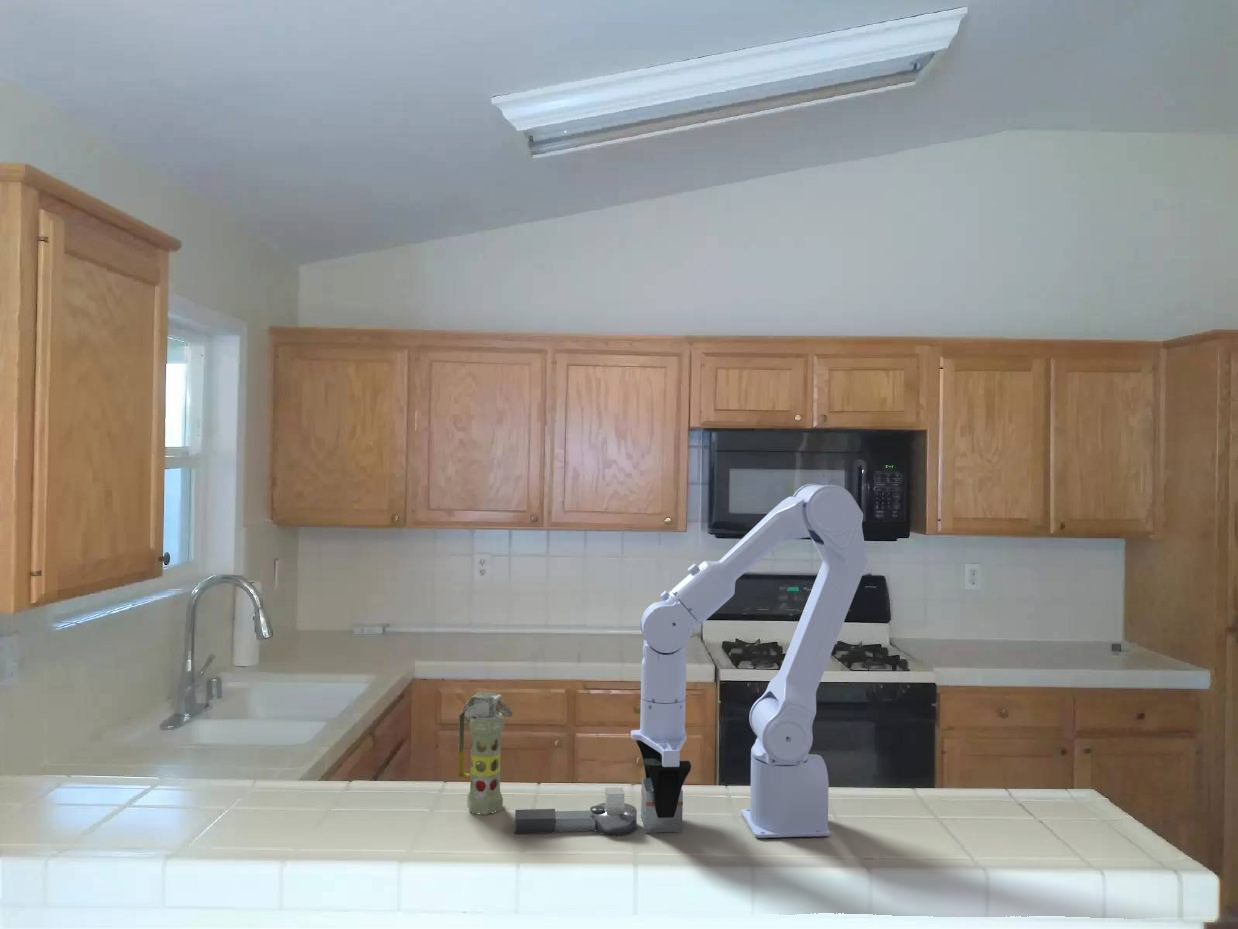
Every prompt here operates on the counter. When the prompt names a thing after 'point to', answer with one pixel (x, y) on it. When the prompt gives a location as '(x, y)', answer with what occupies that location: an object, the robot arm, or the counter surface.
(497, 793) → the grenade
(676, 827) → the striped cube with knob
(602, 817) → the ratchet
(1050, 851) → the counter surface
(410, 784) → the counter surface
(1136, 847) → the counter surface
